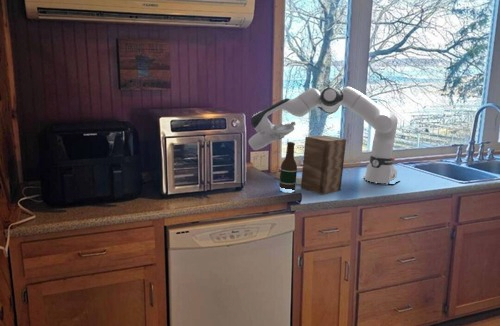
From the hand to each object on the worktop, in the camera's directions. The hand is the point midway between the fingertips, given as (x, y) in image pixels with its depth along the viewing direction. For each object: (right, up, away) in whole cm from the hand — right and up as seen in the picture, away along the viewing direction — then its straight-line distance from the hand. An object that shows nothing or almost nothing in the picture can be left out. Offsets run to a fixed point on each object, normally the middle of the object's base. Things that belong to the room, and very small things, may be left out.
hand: (288, 123), depth 239 cm
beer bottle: (-3, -35, -19) cm, 40 cm away
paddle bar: (+2, -31, +2) cm, 31 cm away
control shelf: (+15, -34, -10) cm, 39 cm away
